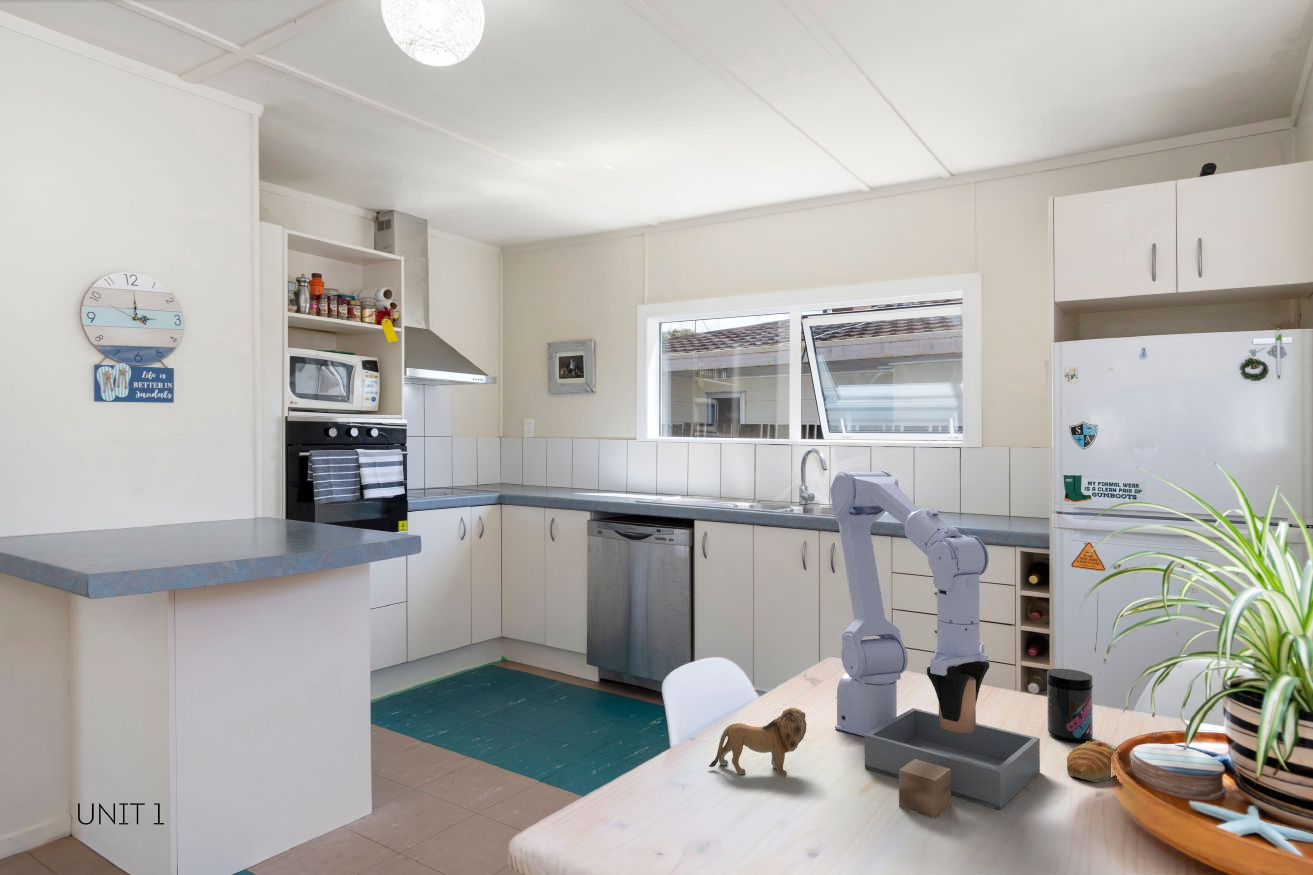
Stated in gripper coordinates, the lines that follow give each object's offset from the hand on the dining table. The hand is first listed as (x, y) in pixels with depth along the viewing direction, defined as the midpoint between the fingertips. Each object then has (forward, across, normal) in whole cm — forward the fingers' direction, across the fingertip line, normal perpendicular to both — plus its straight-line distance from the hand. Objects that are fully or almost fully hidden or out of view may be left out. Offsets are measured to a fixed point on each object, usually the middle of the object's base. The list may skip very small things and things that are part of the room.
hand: (958, 714), depth 111 cm
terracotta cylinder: (+2, 0, 0) cm, 2 cm away
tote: (+9, +3, +2) cm, 10 cm away
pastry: (+10, +17, -13) cm, 24 cm away
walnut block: (+10, -11, 0) cm, 15 cm away
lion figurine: (+10, -16, +23) cm, 30 cm away
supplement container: (+10, +30, -6) cm, 32 cm away
